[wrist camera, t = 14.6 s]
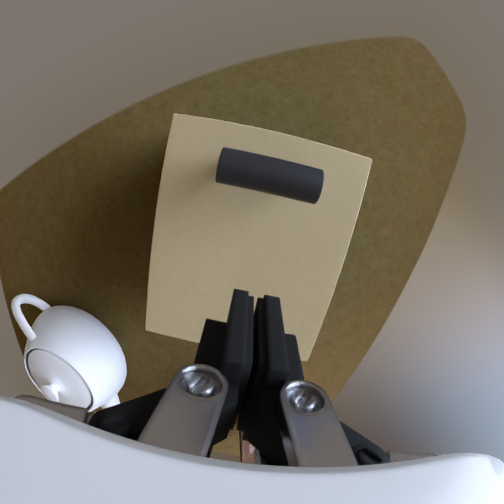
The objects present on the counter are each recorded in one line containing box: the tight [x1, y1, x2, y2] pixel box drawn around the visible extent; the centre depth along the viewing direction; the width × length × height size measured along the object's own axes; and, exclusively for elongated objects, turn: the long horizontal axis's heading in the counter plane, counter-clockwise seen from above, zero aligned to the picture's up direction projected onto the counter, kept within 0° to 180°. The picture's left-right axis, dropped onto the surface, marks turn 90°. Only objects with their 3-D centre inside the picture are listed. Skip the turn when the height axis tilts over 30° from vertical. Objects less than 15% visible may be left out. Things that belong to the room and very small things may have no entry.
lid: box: [145, 113, 372, 361], centre depth 17 cm, size 15×13×5 cm
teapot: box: [11, 294, 127, 412], centre depth 28 cm, size 22×14×11 cm, turn 25°
